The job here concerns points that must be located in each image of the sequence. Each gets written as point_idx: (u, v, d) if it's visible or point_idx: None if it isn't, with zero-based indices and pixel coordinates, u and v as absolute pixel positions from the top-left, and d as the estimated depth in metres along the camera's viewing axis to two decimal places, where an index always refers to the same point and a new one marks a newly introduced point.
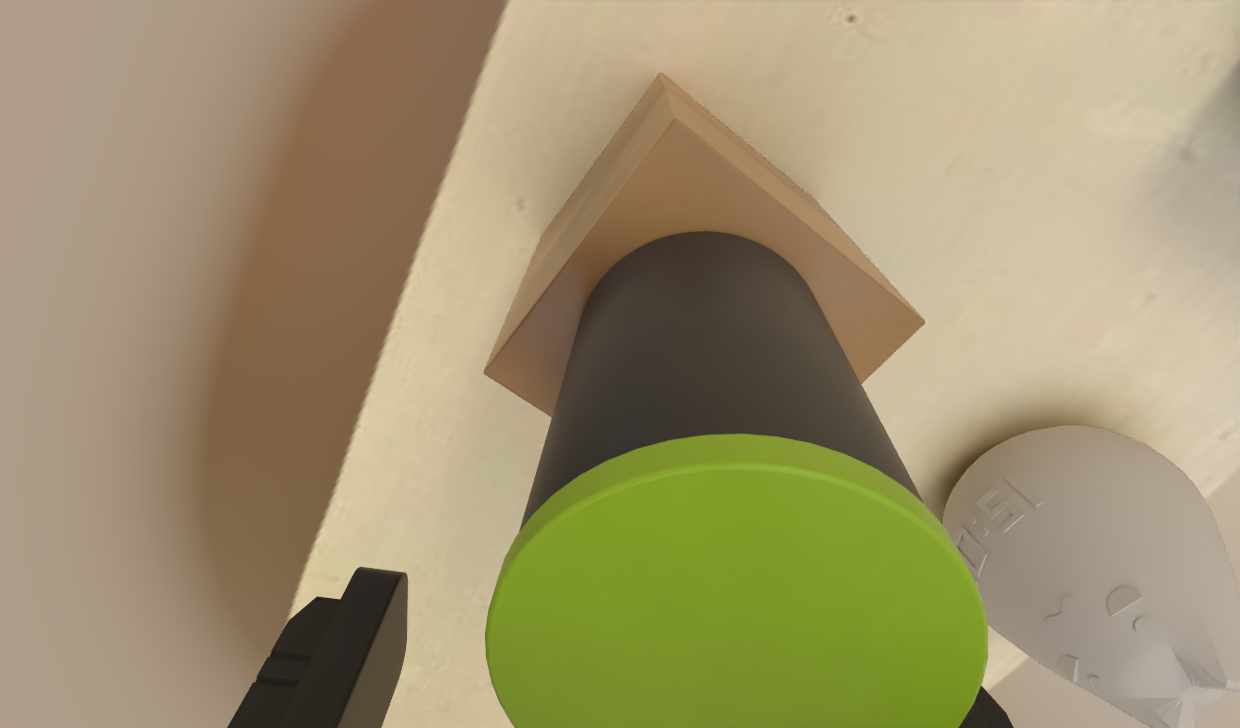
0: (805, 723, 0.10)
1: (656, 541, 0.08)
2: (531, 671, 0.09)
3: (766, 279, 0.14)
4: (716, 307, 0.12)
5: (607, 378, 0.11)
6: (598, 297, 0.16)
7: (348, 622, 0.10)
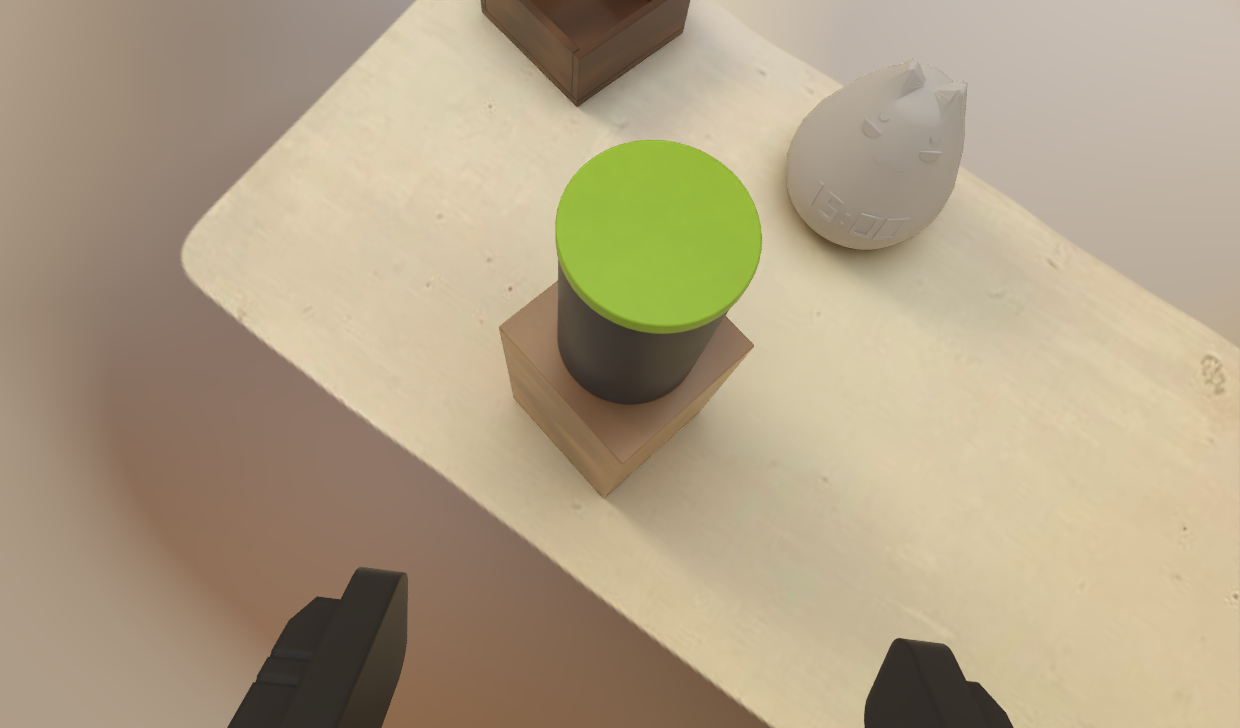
0: (694, 205, 0.22)
1: (587, 243, 0.21)
2: (651, 306, 0.21)
3: None
4: None
5: (566, 305, 0.24)
6: (574, 367, 0.29)
7: (348, 622, 0.10)
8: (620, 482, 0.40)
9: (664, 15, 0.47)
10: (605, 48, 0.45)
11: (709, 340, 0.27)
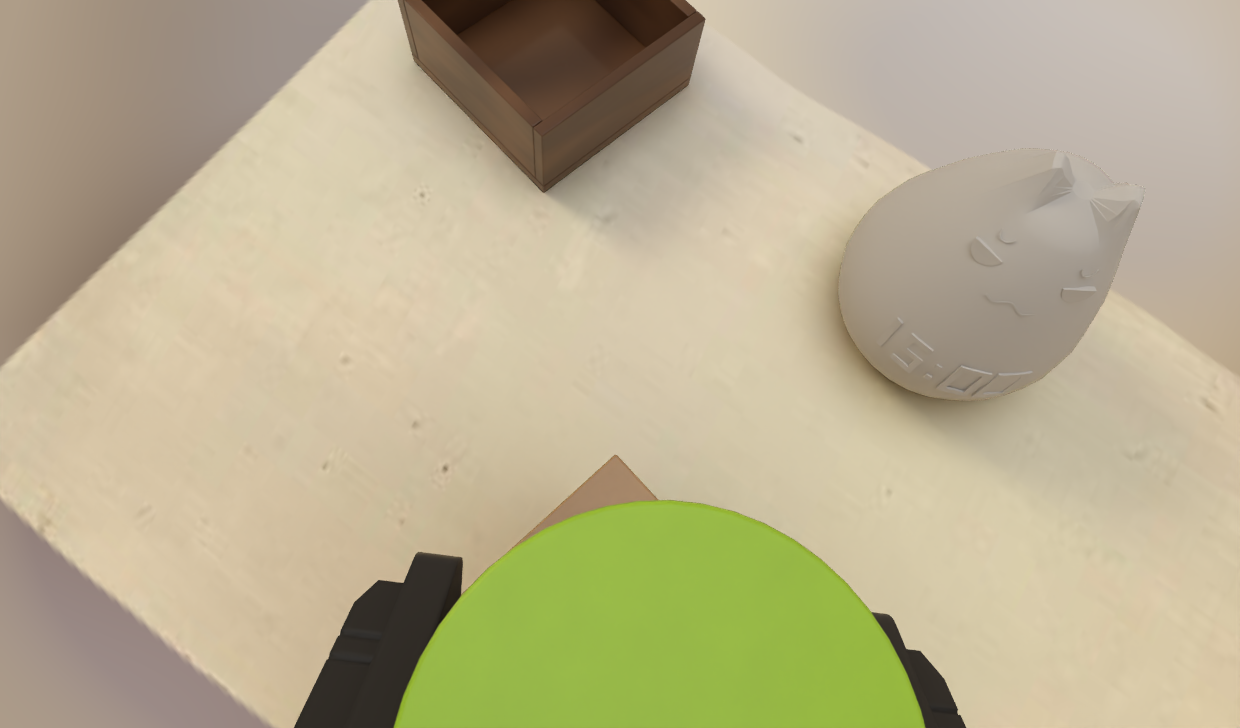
0: (758, 695, 0.08)
1: None
2: None
3: None
4: None
5: None
6: None
7: (413, 603, 0.10)
8: None
9: (663, 66, 0.34)
10: (580, 117, 0.32)
11: None
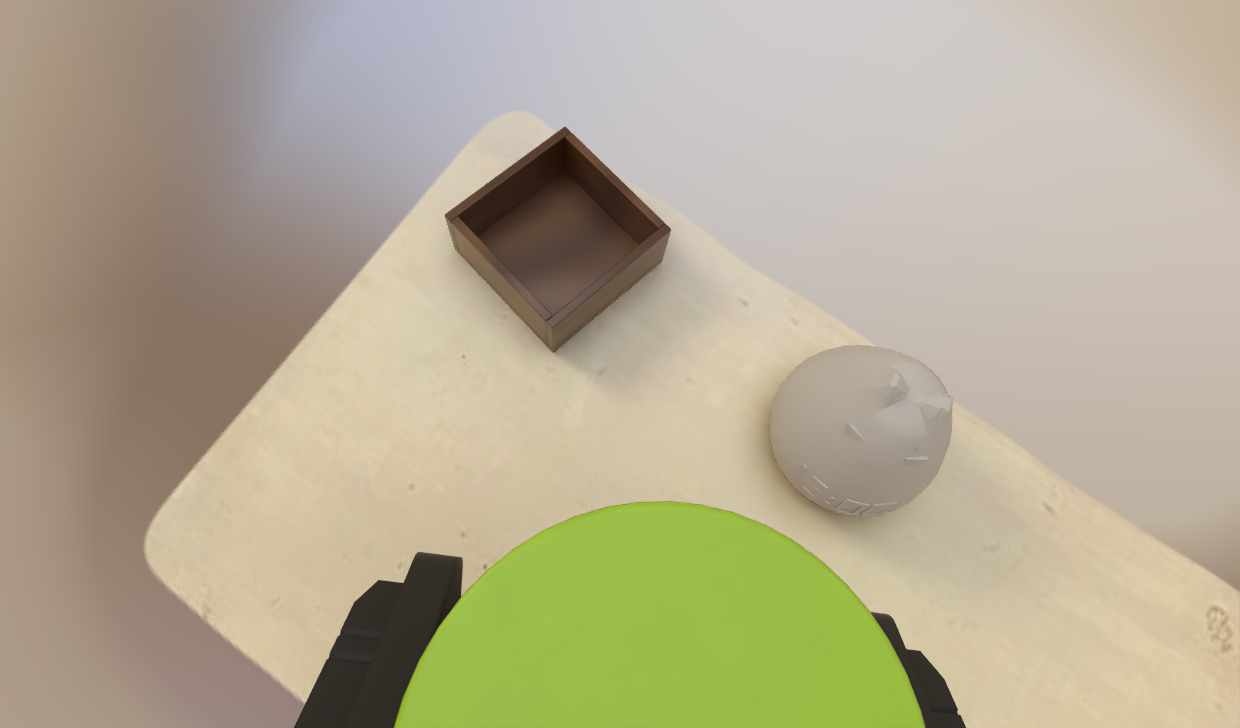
0: (758, 696, 0.08)
1: None
2: None
3: None
4: None
5: None
6: None
7: (413, 603, 0.10)
8: None
9: (641, 262, 0.46)
10: (579, 309, 0.44)
11: None
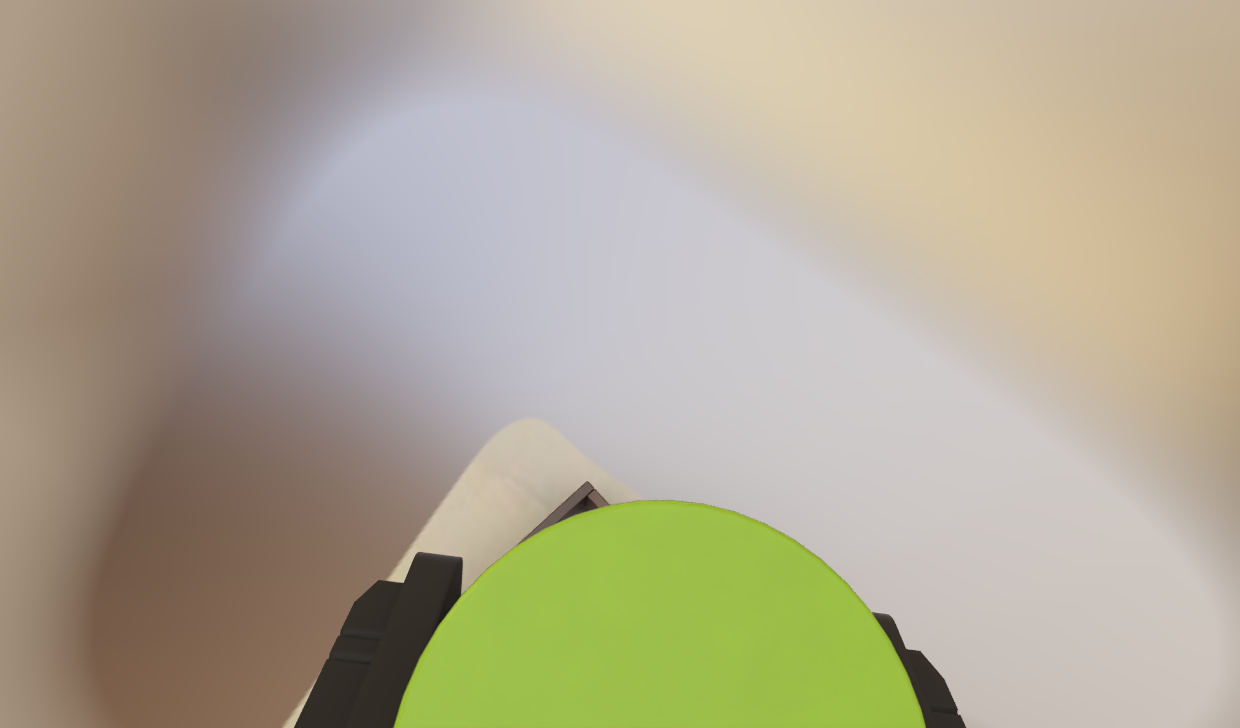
0: (758, 695, 0.08)
1: None
2: None
3: None
4: None
5: None
6: None
7: (413, 603, 0.10)
8: None
9: None
10: None
11: None
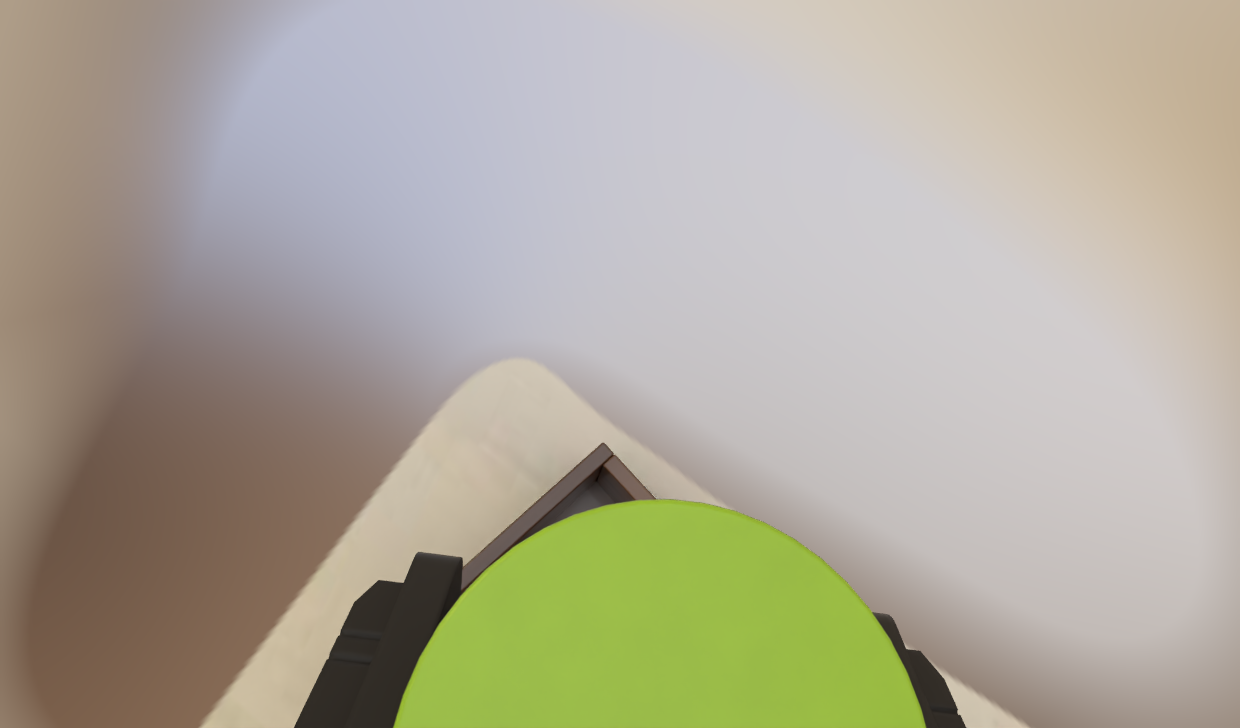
0: (758, 694, 0.08)
1: None
2: None
3: None
4: None
5: None
6: None
7: (413, 603, 0.10)
8: None
9: None
10: None
11: None
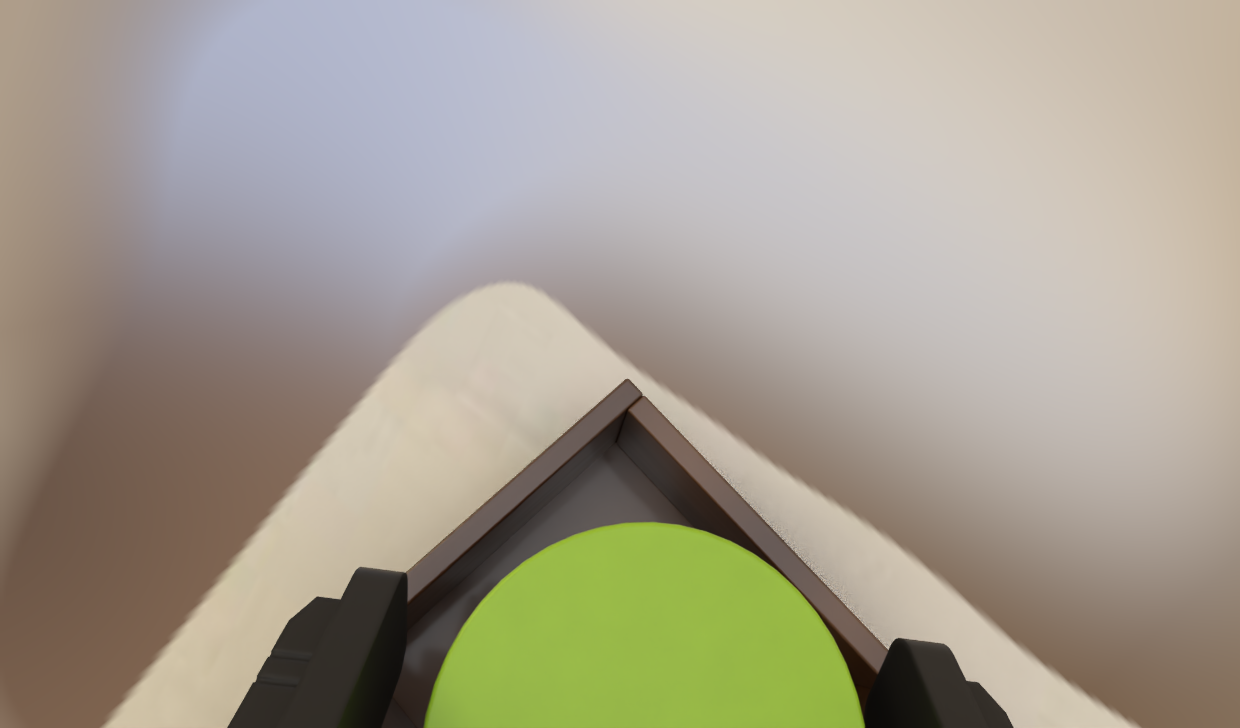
0: (723, 682, 0.10)
1: None
2: None
3: None
4: None
5: None
6: None
7: (348, 622, 0.10)
8: None
9: None
10: None
11: None
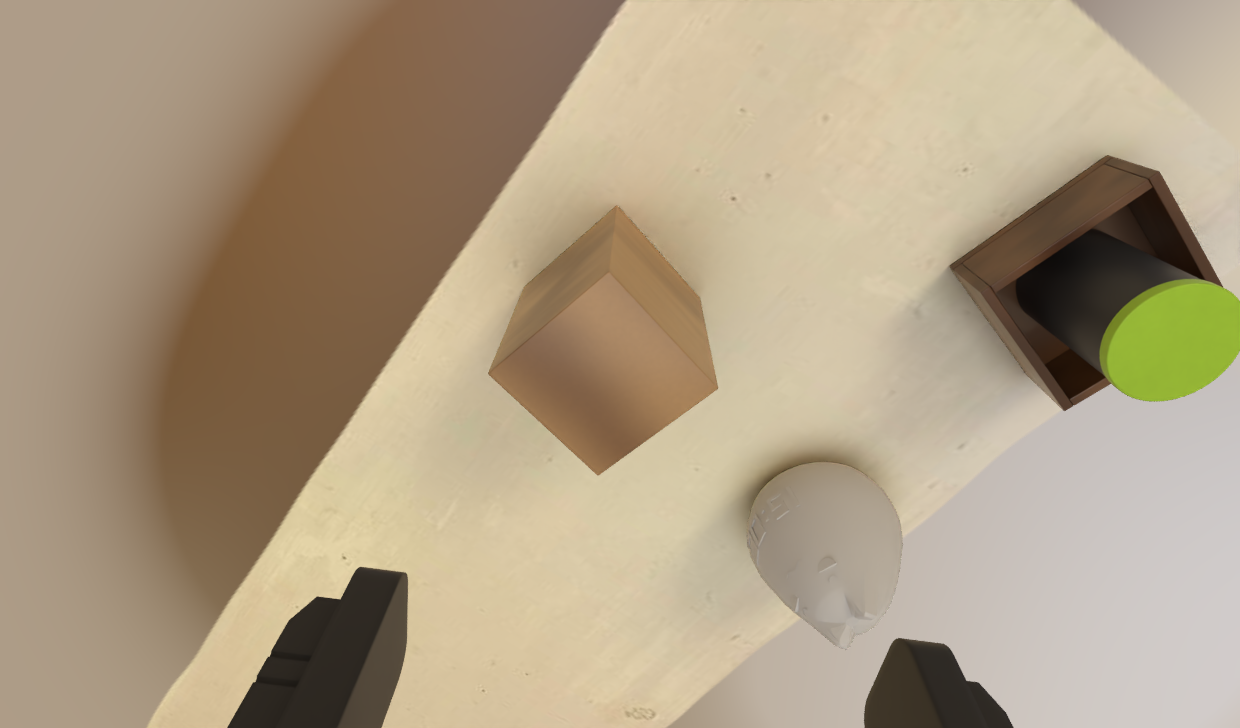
0: (1185, 365, 0.35)
1: (1180, 302, 0.34)
2: (1124, 338, 0.35)
3: None
4: (1144, 253, 0.38)
5: (1127, 267, 0.36)
6: None
7: (348, 622, 0.10)
8: None
9: (1033, 373, 0.43)
10: (995, 316, 0.41)
11: (1067, 345, 0.41)
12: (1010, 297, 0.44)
